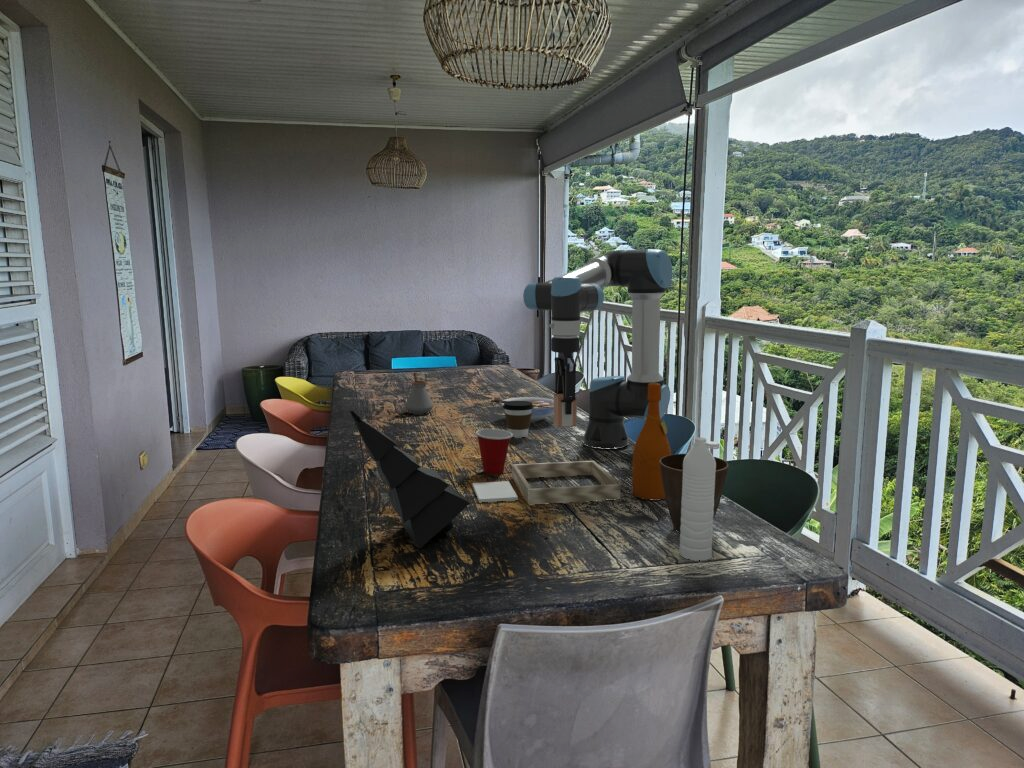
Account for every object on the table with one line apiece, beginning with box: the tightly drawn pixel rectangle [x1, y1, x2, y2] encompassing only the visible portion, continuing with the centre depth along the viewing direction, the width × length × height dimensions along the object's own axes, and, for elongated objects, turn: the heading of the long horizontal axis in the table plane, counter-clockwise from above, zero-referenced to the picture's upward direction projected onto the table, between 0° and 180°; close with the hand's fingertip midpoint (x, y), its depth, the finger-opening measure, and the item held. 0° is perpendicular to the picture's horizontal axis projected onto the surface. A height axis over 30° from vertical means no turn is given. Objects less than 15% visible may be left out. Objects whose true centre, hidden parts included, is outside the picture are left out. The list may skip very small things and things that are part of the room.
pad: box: [472, 480, 519, 504], centre depth 187 cm, size 10×14×1 cm
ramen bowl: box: [490, 396, 554, 423], centre depth 277 cm, size 25×23×8 cm
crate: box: [511, 460, 622, 506], centre depth 191 cm, size 24×24×4 cm
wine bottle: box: [631, 383, 672, 500], centre depth 183 cm, size 10×10×30 cm
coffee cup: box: [502, 401, 534, 439], centre depth 250 cm, size 11×11×12 cm
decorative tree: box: [349, 410, 471, 549], centre depth 153 cm, size 15×15×35 cm
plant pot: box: [660, 453, 729, 533], centre depth 160 cm, size 15×15×16 cm
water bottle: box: [678, 436, 720, 562], centre depth 143 cm, size 9×6×25 cm
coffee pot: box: [405, 371, 434, 415], centre depth 296 cm, size 21×12×15 cm, turn 14°
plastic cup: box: [475, 428, 513, 475], centre depth 206 cm, size 11×11×12 cm
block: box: [553, 393, 578, 428], centre depth 188 cm, size 5×5×8 cm
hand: (564, 423), depth 189 cm, fingers closed on block, 5 cm apart
